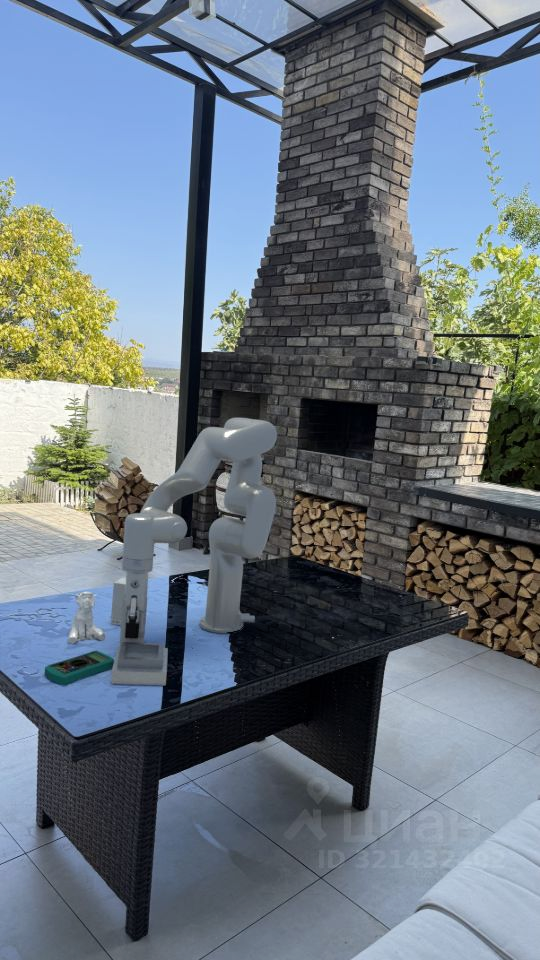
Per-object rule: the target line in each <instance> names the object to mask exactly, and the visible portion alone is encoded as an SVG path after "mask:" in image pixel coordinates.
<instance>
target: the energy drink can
mask: <svg viewBox="0 0 540 960" xmlns="http://www.w3.org/2000/svg"><path fill="white" fill-rule="evenodd" d="M147 606H148V597H147V598H146V609H145V611H144V612H142V611H140V610H139V620H138V622H139V635H138V638H137V639H135V638H125V630H126V622H127V615H128V611H126V610H125V595H124V597H123V603H122V618H121V625H120V633H119V635H120V637H119V646H121V644H122V642H141V643H145V635H146V623H147V622H146V621H147V610H148V609H147ZM130 609H131V608H130ZM136 610H138V608H136ZM135 615H136V616H137V613H135Z"/></svg>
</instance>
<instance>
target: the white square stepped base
mask: <svg viewBox="0 0 540 960" xmlns="http://www.w3.org/2000/svg"><path fill="white" fill-rule="evenodd" d="M168 650H169V649H168V647H165V643H163V642H144V643H141V642H122V644H121V646H120V645H119V646H117V649H116V652H115V656H114V664H113V668H112V669H111V677H110V678H111V679H110V684H111V685H132V686H133V685H137V686H166V685H167V674H168V673H167V672H168V653H169V651H168Z"/></svg>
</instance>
